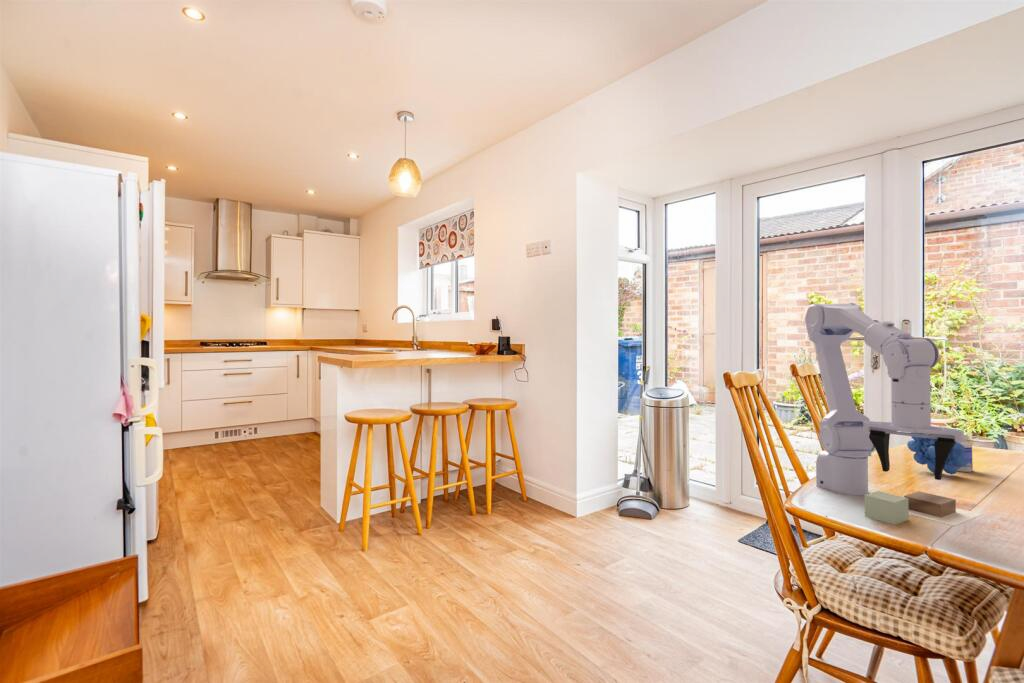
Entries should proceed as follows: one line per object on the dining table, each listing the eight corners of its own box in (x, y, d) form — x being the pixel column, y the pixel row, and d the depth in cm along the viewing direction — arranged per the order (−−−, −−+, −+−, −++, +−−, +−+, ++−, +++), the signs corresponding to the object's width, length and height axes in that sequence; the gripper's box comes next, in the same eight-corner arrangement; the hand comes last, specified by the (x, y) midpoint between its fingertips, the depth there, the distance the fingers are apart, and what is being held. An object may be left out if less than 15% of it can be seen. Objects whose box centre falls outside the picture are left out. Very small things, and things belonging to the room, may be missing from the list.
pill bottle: (978, 472, 126) (978, 434, 126) (958, 472, 126) (957, 435, 126) (959, 466, 131) (958, 431, 131) (939, 467, 131) (938, 431, 131)
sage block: (864, 520, 94) (864, 495, 94) (878, 516, 96) (878, 491, 96) (894, 529, 90) (894, 502, 90) (908, 524, 92) (908, 498, 92)
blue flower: (904, 472, 127) (904, 426, 127) (909, 467, 131) (908, 423, 131) (965, 481, 118) (964, 432, 118) (967, 475, 123) (967, 428, 123)
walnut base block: (904, 508, 98) (904, 495, 98) (918, 503, 101) (918, 491, 101) (941, 517, 93) (941, 504, 93) (955, 512, 95) (955, 499, 95)
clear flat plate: (879, 510, 99) (879, 506, 99) (909, 500, 105) (909, 496, 105) (954, 530, 89) (954, 525, 89) (982, 518, 94) (982, 514, 94)
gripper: (858, 401, 94) (859, 471, 94) (959, 408, 83) (960, 487, 83) (868, 398, 99) (868, 464, 99) (965, 404, 88) (965, 479, 88)
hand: (911, 474), depth 91 cm, fingers open, 7 cm apart
